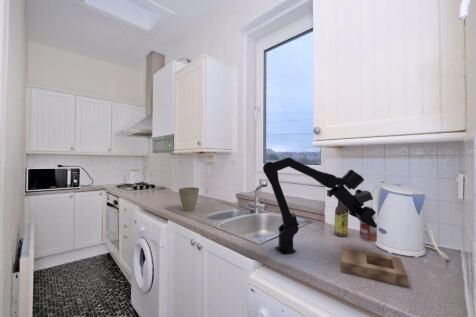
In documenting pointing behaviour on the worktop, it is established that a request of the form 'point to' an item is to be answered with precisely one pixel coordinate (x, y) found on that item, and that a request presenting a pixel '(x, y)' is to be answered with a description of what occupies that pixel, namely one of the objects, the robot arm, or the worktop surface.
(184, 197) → the plant pot
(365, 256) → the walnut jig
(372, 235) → the pill bottle
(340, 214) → the sauce bottle
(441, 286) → the worktop surface
